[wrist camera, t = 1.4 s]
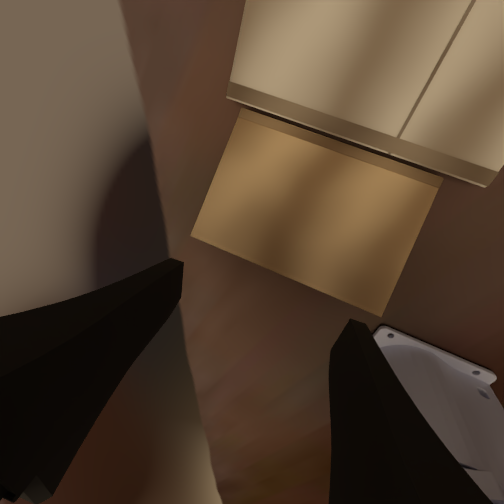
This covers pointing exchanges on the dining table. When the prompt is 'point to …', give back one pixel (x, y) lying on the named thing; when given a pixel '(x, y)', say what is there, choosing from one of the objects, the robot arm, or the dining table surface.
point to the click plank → (316, 209)
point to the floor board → (383, 76)
